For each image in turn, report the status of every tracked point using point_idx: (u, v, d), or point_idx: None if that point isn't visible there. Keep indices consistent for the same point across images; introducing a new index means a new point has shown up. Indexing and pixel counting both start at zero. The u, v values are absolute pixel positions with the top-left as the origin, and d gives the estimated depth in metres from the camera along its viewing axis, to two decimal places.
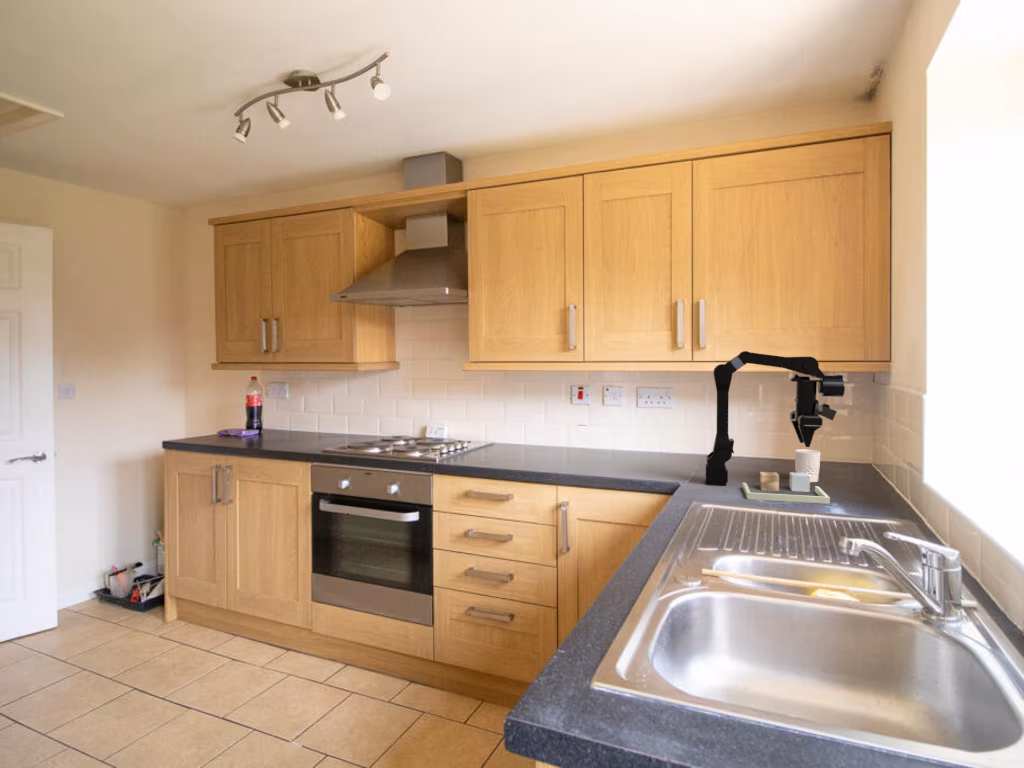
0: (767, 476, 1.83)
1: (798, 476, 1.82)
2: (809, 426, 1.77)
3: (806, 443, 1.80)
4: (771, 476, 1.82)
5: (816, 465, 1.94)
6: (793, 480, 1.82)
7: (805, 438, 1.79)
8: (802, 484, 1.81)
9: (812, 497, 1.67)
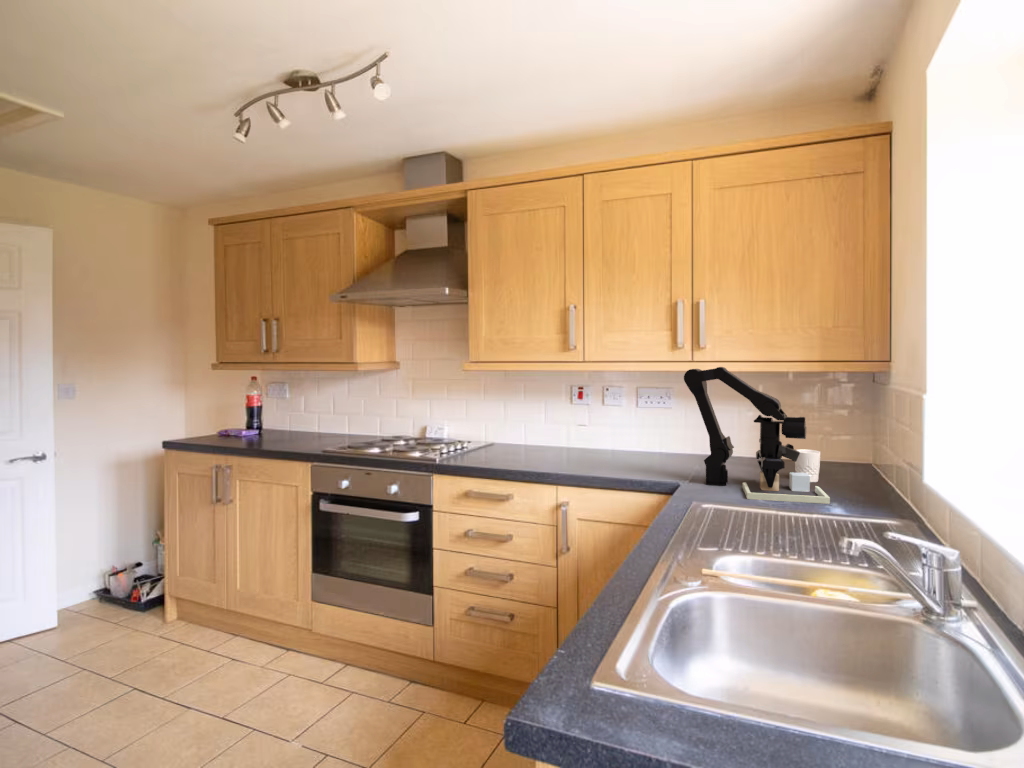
0: None
1: (798, 476, 1.82)
2: (771, 467, 1.79)
3: (769, 484, 1.82)
4: None
5: (816, 465, 1.94)
6: (793, 480, 1.82)
7: (767, 479, 1.82)
8: (802, 484, 1.81)
9: (812, 497, 1.67)
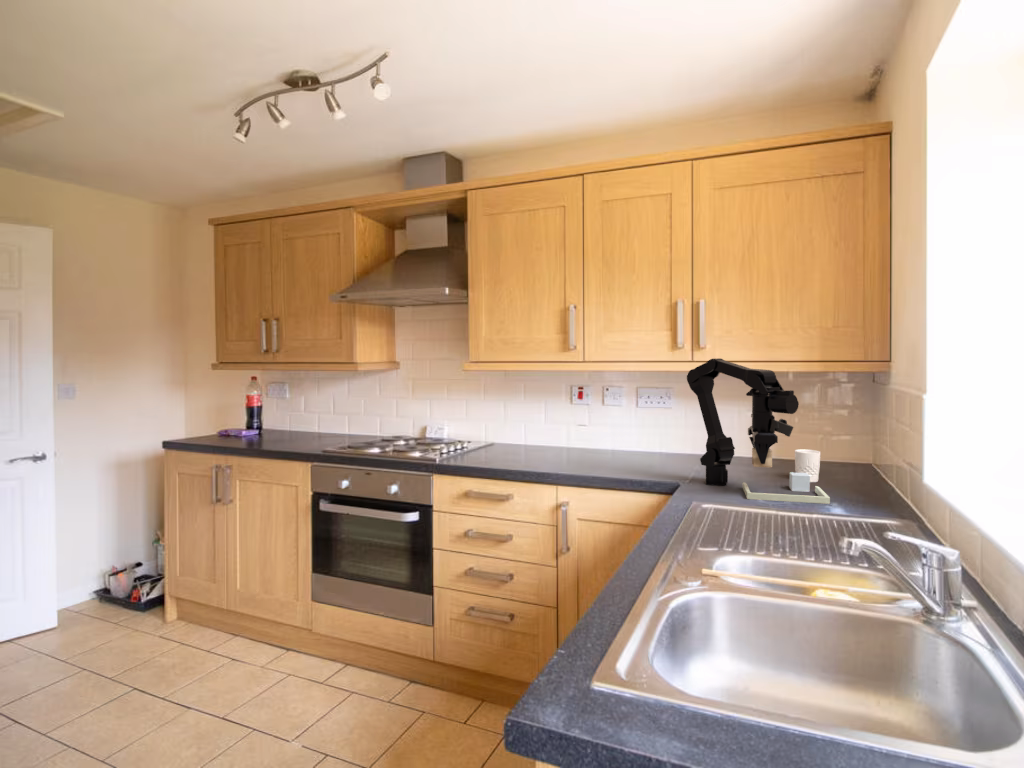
0: None
1: (798, 476, 1.82)
2: (763, 442, 1.71)
3: (761, 460, 1.74)
4: None
5: (816, 465, 1.94)
6: (793, 480, 1.82)
7: (760, 455, 1.74)
8: (802, 484, 1.81)
9: (812, 497, 1.67)
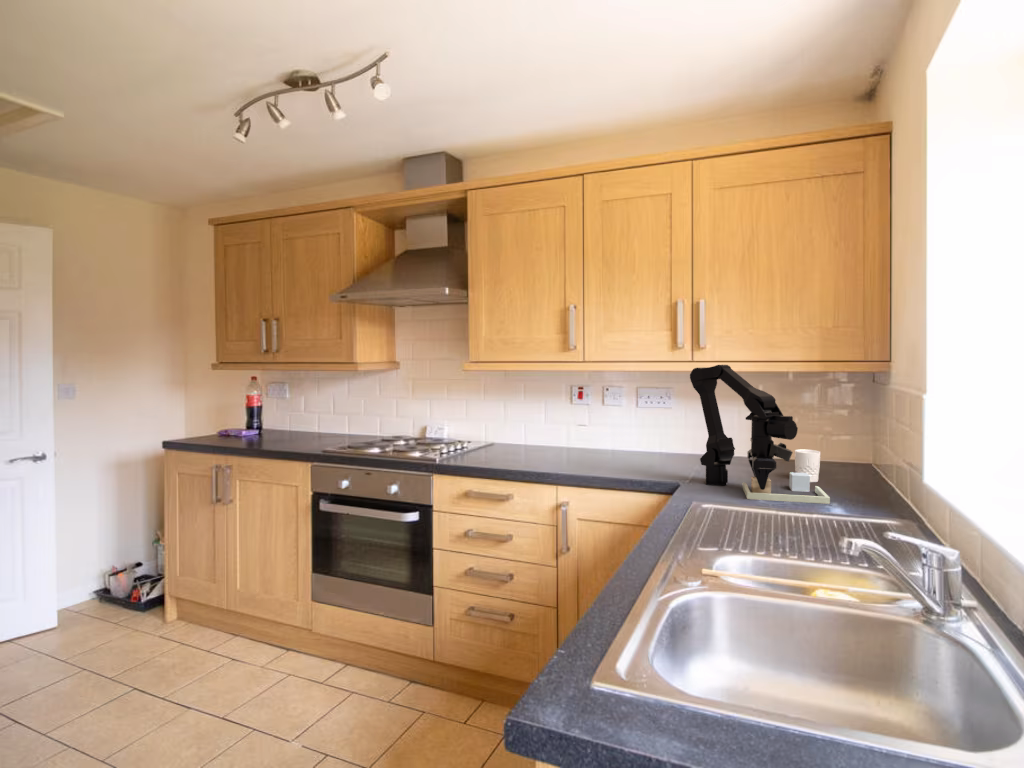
0: None
1: (798, 476, 1.82)
2: (763, 469, 1.70)
3: (761, 485, 1.73)
4: None
5: (816, 465, 1.94)
6: (793, 480, 1.82)
7: (759, 480, 1.73)
8: (802, 484, 1.81)
9: (812, 497, 1.67)
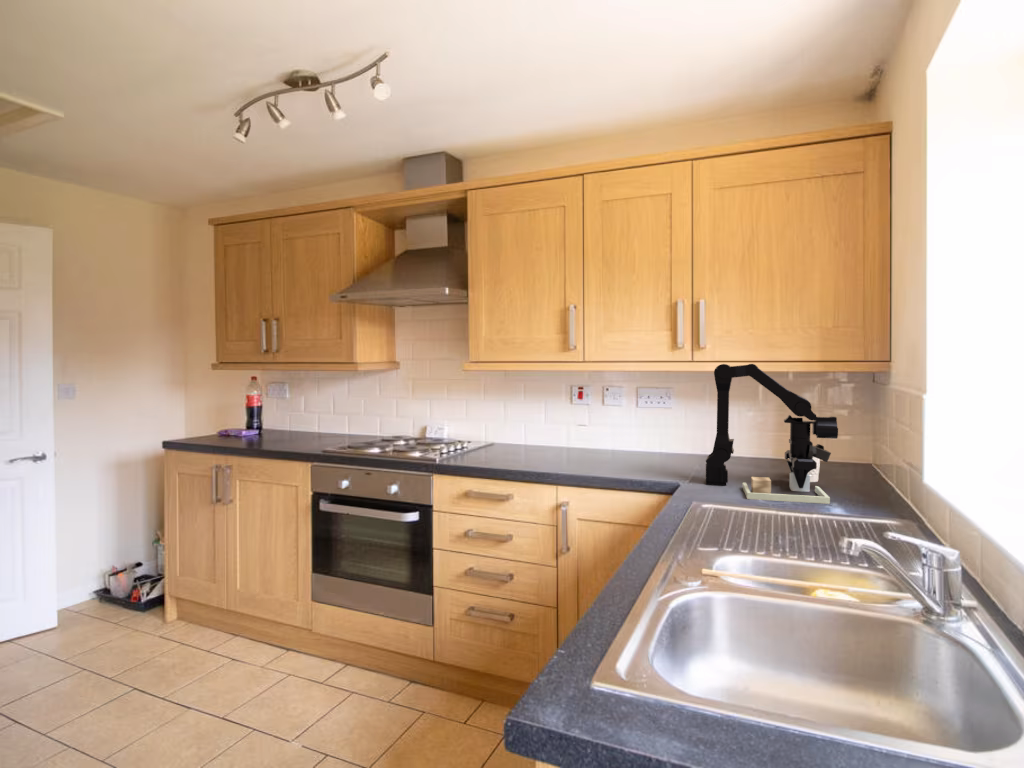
0: (759, 481, 1.75)
1: None
2: None
3: (799, 484, 1.81)
4: (763, 481, 1.75)
5: None
6: (793, 480, 1.82)
7: (798, 479, 1.80)
8: None
9: (812, 497, 1.67)
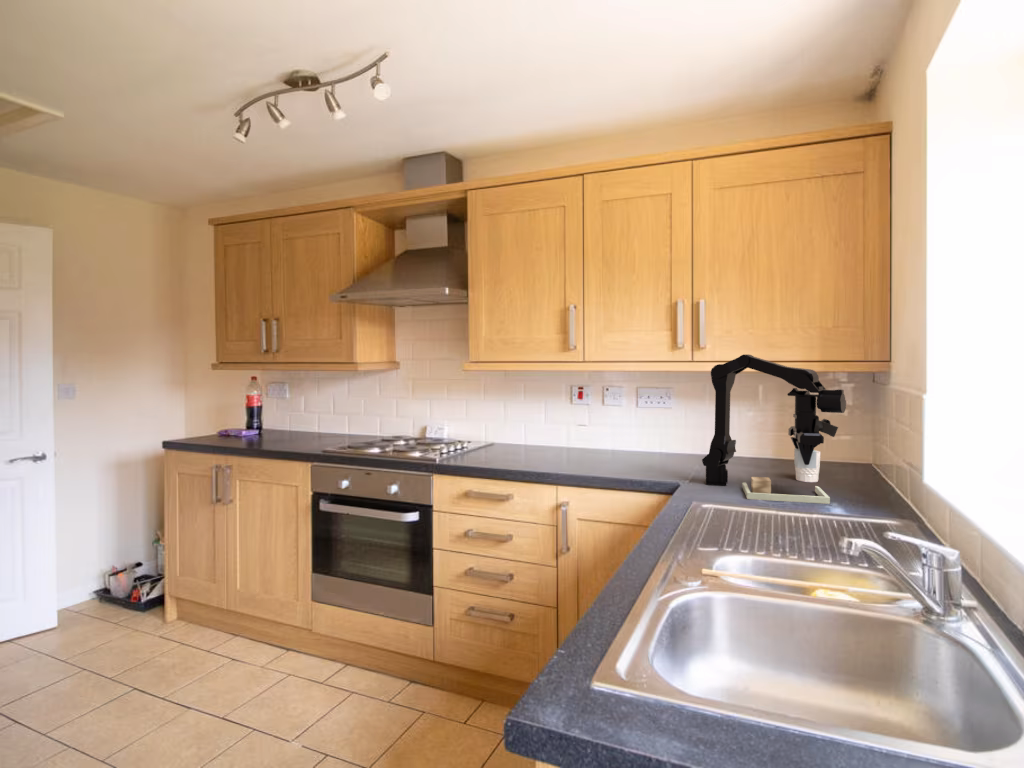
0: (759, 481, 1.75)
1: None
2: (808, 443, 1.68)
3: (805, 461, 1.71)
4: (763, 481, 1.75)
5: (816, 465, 1.94)
6: (799, 456, 1.72)
7: (804, 455, 1.71)
8: None
9: (812, 497, 1.67)
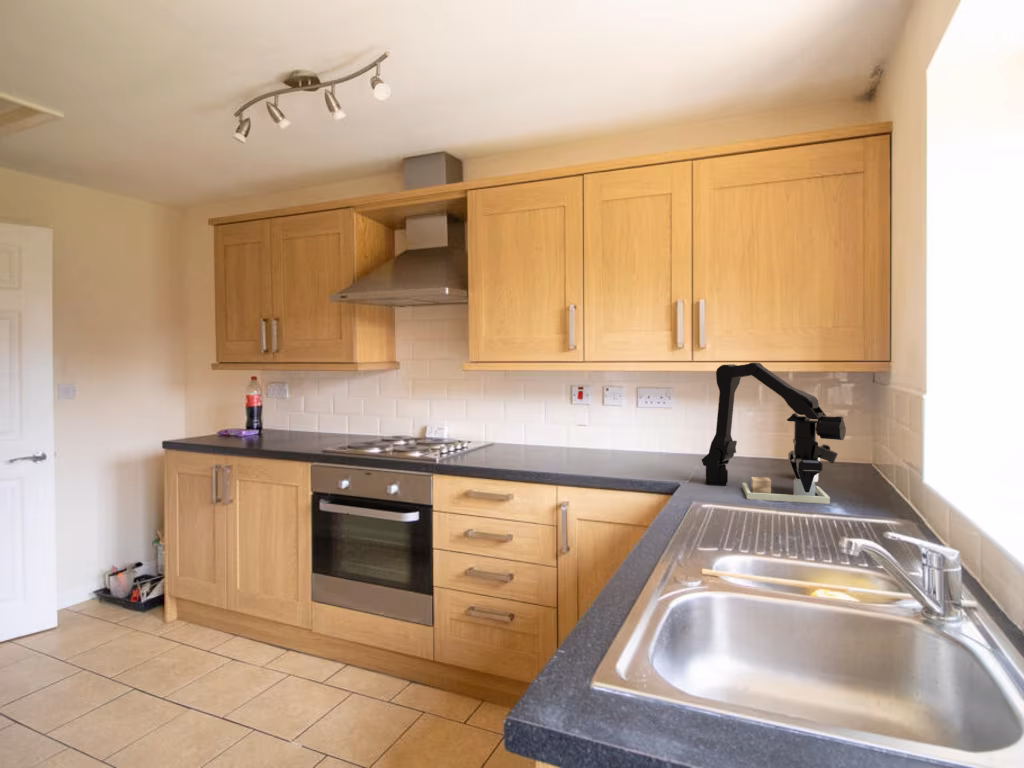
0: (759, 481, 1.75)
1: None
2: (808, 471, 1.66)
3: (805, 488, 1.69)
4: (763, 481, 1.75)
5: None
6: (797, 487, 1.72)
7: (804, 483, 1.69)
8: (807, 492, 1.71)
9: (812, 497, 1.67)
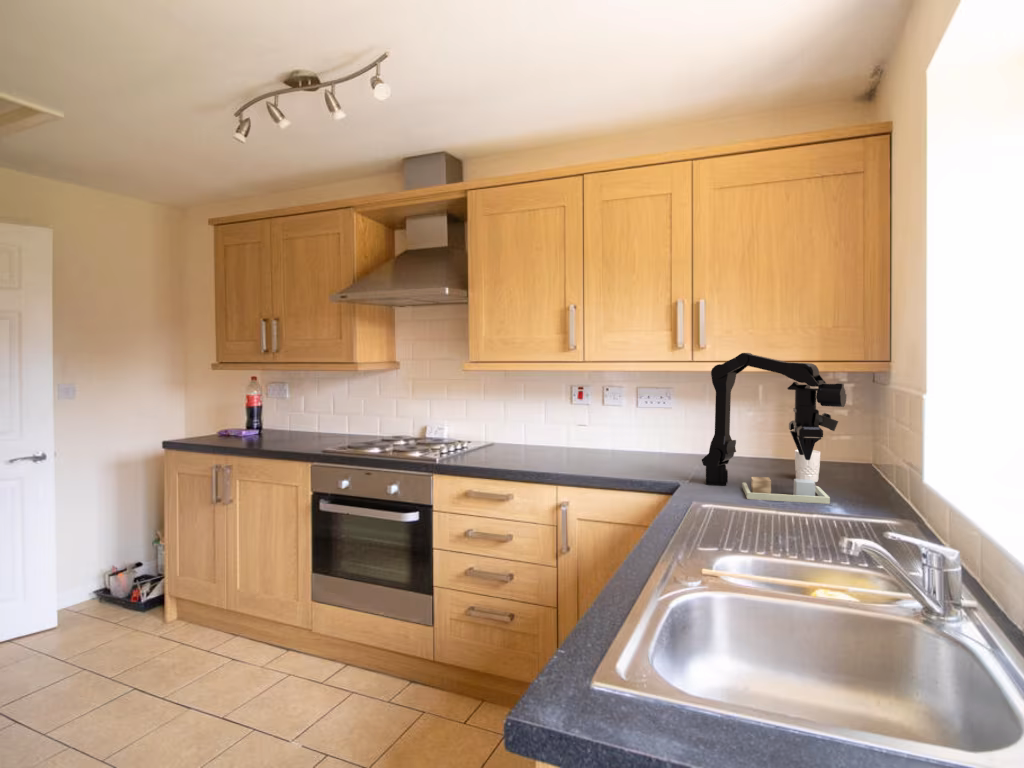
0: (759, 481, 1.75)
1: (803, 483, 1.72)
2: (809, 438, 1.66)
3: (806, 456, 1.69)
4: (763, 481, 1.75)
5: (816, 465, 1.94)
6: (797, 487, 1.72)
7: (805, 450, 1.68)
8: (807, 492, 1.71)
9: (812, 497, 1.67)
